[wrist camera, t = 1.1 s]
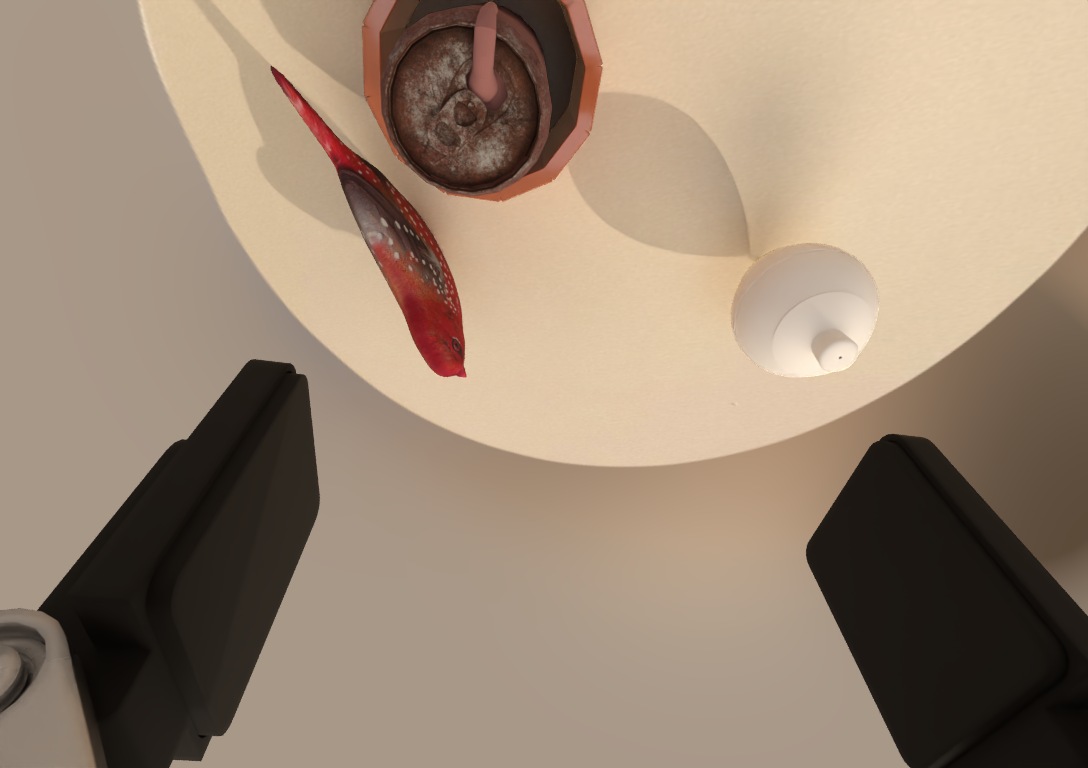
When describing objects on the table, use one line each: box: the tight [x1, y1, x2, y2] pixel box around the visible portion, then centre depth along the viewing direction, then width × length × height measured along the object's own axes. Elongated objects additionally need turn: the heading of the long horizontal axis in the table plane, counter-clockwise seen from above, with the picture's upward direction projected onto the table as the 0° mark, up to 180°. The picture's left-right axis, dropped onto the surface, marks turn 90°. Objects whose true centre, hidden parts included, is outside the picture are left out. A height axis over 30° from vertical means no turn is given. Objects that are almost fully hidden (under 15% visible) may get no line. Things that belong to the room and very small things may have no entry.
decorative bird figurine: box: [271, 66, 466, 377], centre depth 31 cm, size 3×18×10 cm, turn 26°
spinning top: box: [731, 243, 879, 378], centre depth 32 cm, size 8×8×12 cm
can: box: [381, 2, 552, 197], centre depth 25 cm, size 6×6×14 cm
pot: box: [362, 0, 603, 202], centre depth 28 cm, size 11×11×6 cm
